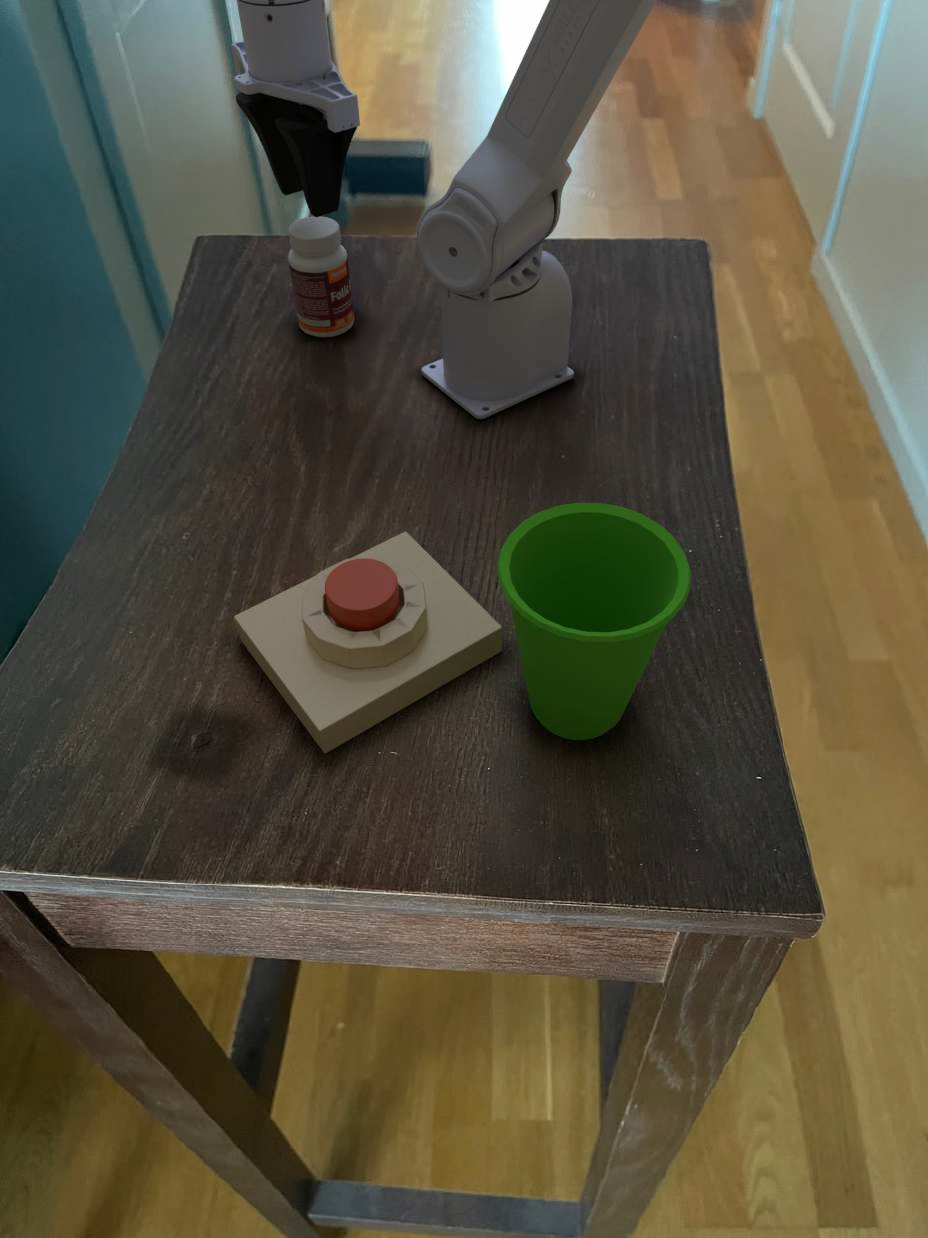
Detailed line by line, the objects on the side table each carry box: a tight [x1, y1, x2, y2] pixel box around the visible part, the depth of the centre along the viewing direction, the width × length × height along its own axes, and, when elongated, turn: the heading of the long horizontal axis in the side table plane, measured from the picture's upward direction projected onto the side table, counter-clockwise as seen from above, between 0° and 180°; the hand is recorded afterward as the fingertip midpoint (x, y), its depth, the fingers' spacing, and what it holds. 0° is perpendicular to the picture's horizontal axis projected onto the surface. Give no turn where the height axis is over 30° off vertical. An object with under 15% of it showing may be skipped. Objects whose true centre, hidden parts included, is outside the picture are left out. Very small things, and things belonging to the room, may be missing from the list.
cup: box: [496, 502, 692, 741], centre depth 47 cm, size 9×9×11 cm
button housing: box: [233, 530, 503, 754], centre depth 53 cm, size 12×10×4 cm
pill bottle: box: [287, 216, 355, 338], centre depth 75 cm, size 5×5×8 cm
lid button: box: [325, 558, 400, 631], centre depth 51 cm, size 4×4×2 cm
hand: (309, 201), depth 70 cm, fingers open, 4 cm apart
